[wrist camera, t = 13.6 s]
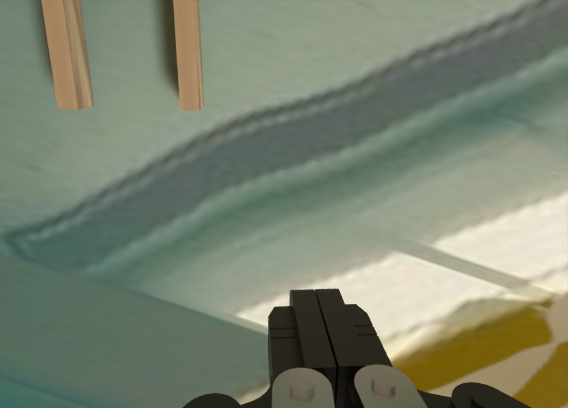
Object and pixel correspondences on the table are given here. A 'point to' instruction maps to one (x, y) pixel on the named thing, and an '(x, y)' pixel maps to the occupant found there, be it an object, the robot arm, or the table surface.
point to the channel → (74, 62)
